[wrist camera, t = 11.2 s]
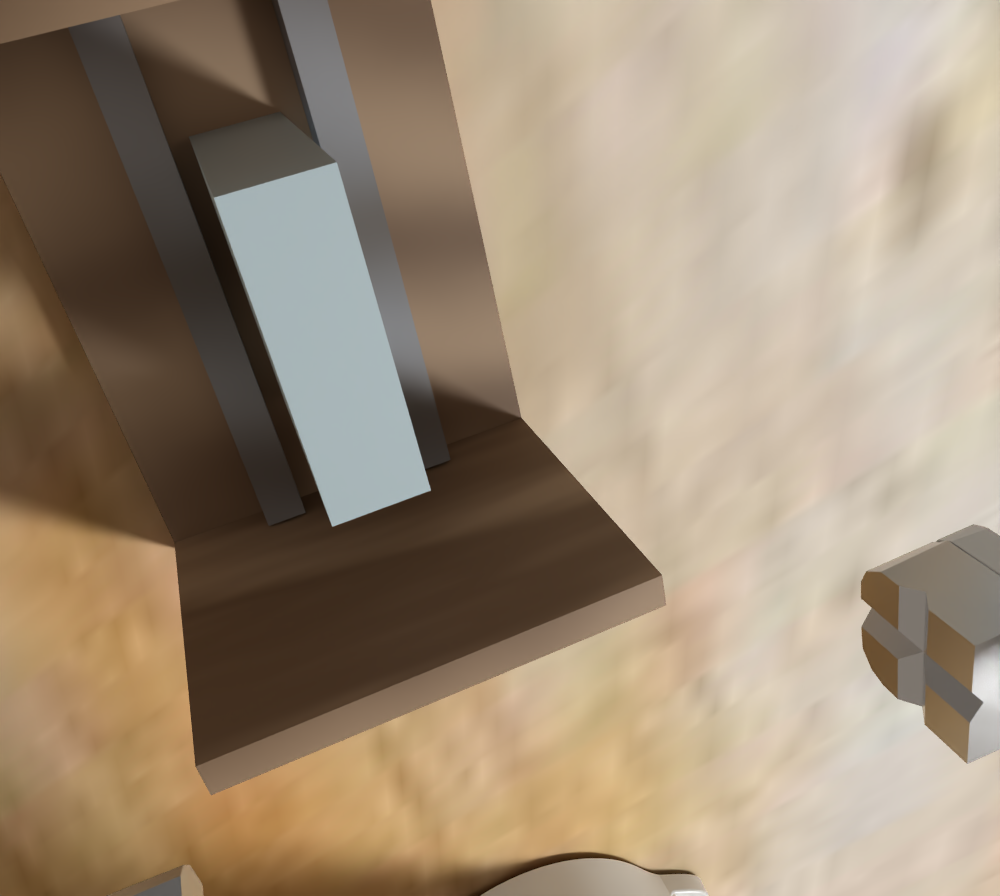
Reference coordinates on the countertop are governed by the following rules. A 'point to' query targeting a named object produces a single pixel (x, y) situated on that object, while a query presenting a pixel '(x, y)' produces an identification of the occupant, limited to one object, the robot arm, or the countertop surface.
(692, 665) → the countertop surface
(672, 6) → the countertop surface
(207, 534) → the cabinet
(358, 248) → the door panel
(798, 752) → the countertop surface
